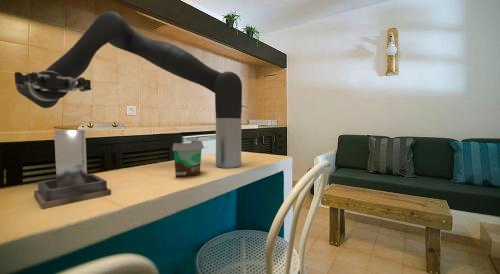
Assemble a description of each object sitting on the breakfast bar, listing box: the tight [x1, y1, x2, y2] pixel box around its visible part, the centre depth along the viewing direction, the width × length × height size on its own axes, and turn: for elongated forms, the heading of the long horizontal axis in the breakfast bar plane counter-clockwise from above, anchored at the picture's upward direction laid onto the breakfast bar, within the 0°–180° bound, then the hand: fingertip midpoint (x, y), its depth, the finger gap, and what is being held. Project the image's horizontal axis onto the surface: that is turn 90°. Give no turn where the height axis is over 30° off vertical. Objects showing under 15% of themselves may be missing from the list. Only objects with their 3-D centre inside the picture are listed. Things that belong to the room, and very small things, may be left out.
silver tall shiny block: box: [53, 129, 88, 188], centre depth 49 cm, size 5×5×13 cm
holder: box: [33, 173, 112, 210], centre depth 50 cm, size 11×11×3 cm
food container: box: [172, 139, 205, 179], centre depth 69 cm, size 12×6×10 cm, turn 168°
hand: (60, 79), depth 53 cm, fingers open, 8 cm apart
